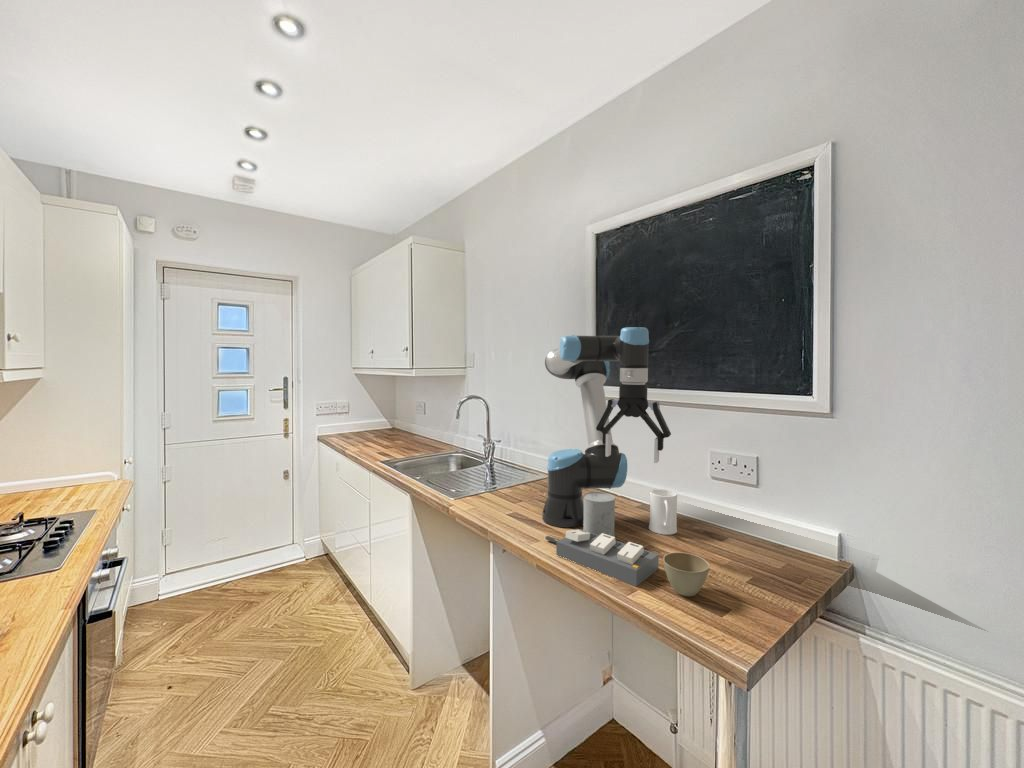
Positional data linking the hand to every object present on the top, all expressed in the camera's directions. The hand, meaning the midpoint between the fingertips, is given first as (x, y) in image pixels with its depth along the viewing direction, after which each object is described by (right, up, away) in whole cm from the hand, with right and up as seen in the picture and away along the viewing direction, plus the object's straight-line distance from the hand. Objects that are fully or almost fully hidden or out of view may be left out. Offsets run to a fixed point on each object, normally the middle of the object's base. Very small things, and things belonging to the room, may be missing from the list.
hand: (631, 458), depth 123 cm
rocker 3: (-4, -22, -12) cm, 25 cm away
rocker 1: (-15, -21, -1) cm, 26 cm away
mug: (+14, -26, +16) cm, 33 cm away
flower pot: (+7, -28, -20) cm, 35 cm away
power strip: (-12, -27, -3) cm, 29 cm away
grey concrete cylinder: (-7, -26, +12) cm, 30 cm away
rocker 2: (-9, -21, -7) cm, 24 cm away
